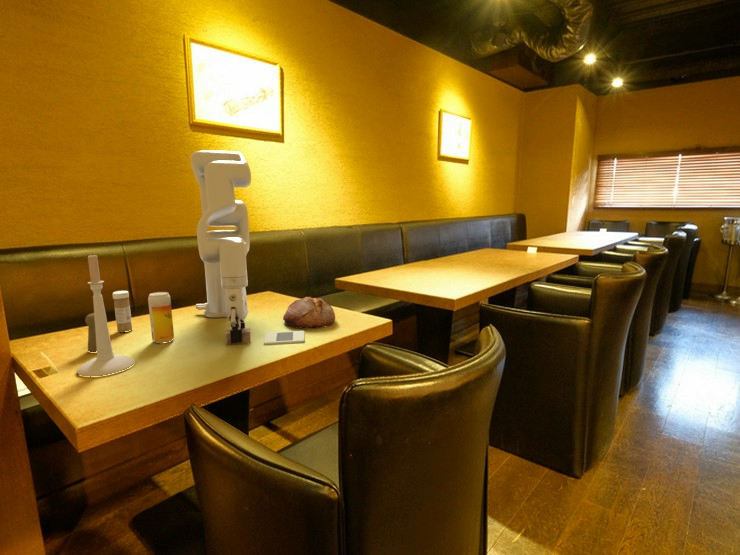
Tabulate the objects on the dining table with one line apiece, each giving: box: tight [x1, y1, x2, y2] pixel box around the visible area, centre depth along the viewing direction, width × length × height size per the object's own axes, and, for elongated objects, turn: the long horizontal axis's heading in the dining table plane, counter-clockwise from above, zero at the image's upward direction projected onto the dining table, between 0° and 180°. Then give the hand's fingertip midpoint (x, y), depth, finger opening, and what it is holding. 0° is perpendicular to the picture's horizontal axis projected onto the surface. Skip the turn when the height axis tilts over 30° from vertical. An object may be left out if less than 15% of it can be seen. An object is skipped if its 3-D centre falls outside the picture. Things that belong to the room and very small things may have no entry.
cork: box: [85, 312, 108, 352], centre depth 124 cm, size 6×6×11 cm
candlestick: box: [76, 253, 136, 377], centre depth 109 cm, size 13×13×30 cm
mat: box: [263, 330, 305, 346], centre depth 133 cm, size 12×10×1 cm
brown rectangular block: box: [225, 327, 251, 345], centre depth 131 cm, size 7×4×4 cm, turn 106°
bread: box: [282, 296, 336, 329], centre depth 150 cm, size 16×20×10 cm
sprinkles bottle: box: [112, 290, 133, 333], centre depth 141 cm, size 5×5×13 cm
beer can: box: [147, 291, 175, 344], centre depth 131 cm, size 6×6×15 cm
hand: (238, 338), depth 131 cm, fingers open, 6 cm apart
